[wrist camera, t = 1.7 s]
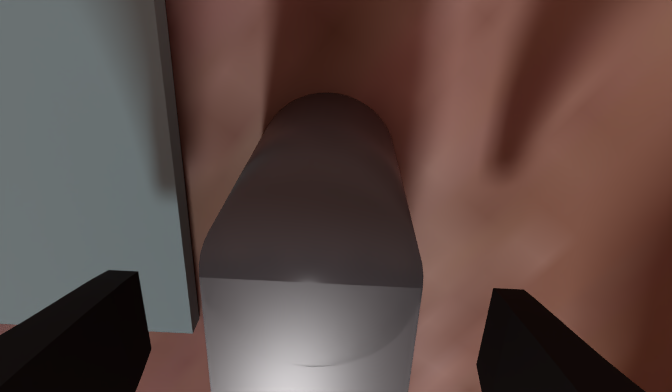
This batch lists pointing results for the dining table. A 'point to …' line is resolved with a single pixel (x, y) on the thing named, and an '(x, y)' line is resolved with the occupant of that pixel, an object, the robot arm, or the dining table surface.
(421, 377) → the dining table surface
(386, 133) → the connector plug
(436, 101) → the dining table surface
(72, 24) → the rubber mat
